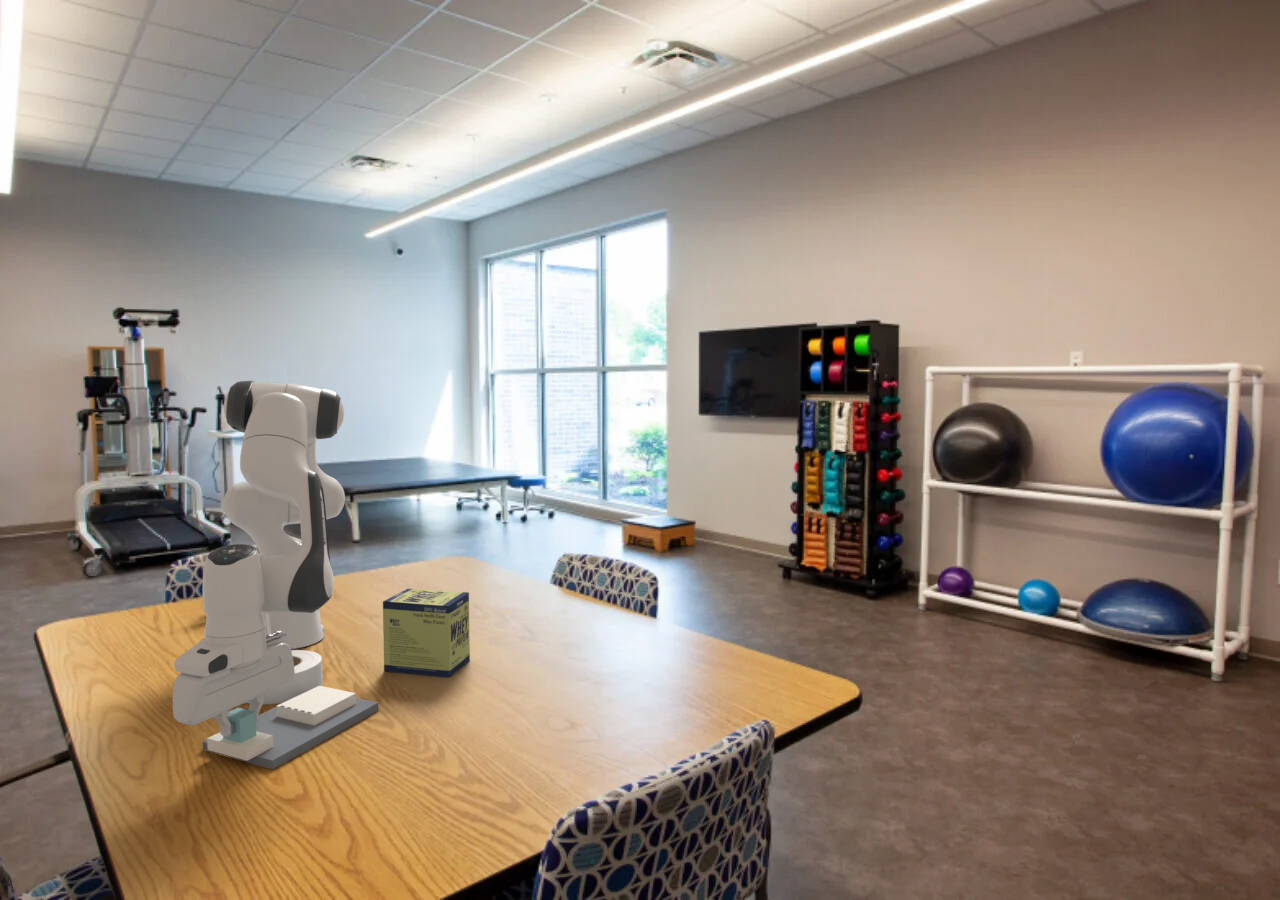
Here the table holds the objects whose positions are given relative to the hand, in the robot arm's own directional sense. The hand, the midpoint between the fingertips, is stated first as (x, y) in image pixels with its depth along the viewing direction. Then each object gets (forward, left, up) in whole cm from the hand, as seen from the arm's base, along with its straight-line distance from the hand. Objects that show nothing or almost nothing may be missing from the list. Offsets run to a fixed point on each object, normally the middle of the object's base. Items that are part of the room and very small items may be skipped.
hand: (240, 728), depth 126 cm
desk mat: (0, +11, -5) cm, 12 cm away
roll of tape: (-18, +24, -5) cm, 30 cm away
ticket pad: (0, +16, -4) cm, 17 cm away
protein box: (+2, +45, -5) cm, 46 cm away
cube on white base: (0, 0, -3) cm, 3 cm away
